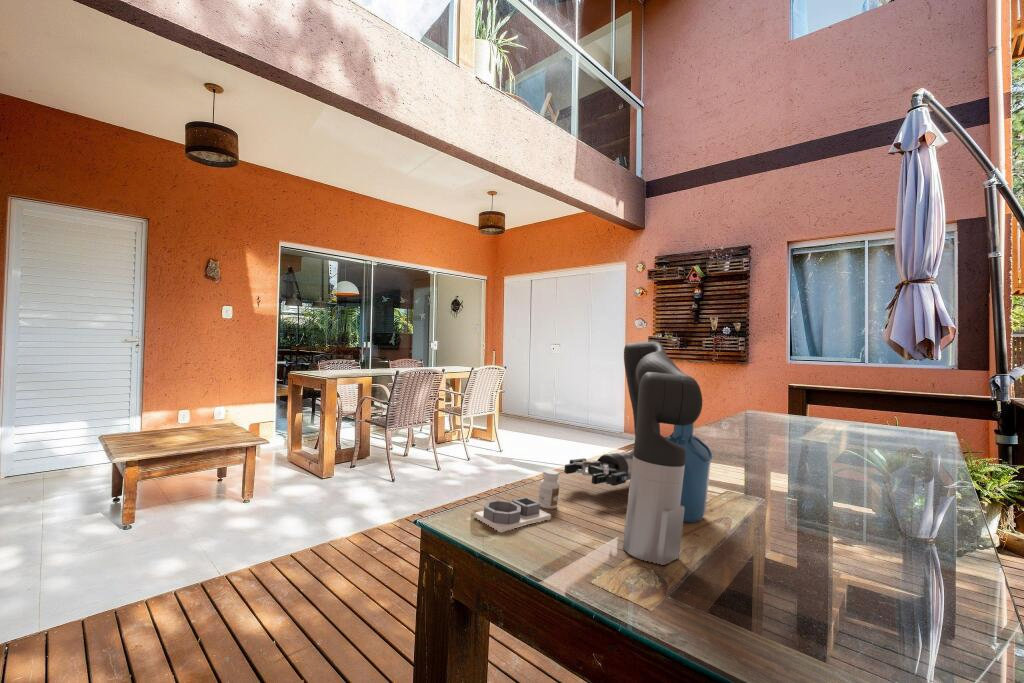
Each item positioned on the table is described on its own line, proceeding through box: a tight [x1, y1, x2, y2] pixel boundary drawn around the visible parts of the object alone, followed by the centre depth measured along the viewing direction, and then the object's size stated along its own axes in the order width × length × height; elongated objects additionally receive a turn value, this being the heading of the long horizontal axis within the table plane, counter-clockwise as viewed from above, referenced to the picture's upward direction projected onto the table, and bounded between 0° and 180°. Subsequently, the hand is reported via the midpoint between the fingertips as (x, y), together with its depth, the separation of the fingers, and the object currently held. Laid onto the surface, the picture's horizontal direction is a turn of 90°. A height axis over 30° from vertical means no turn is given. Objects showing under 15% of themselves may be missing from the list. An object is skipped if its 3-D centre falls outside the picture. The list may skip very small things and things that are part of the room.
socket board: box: [474, 496, 552, 534], centre depth 92 cm, size 8×14×3 cm, turn 133°
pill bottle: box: [537, 469, 560, 510], centre depth 102 cm, size 4×4×8 cm
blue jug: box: [663, 422, 713, 523], centre depth 107 cm, size 14×13×30 cm
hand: (578, 474), depth 109 cm, fingers open, 8 cm apart
